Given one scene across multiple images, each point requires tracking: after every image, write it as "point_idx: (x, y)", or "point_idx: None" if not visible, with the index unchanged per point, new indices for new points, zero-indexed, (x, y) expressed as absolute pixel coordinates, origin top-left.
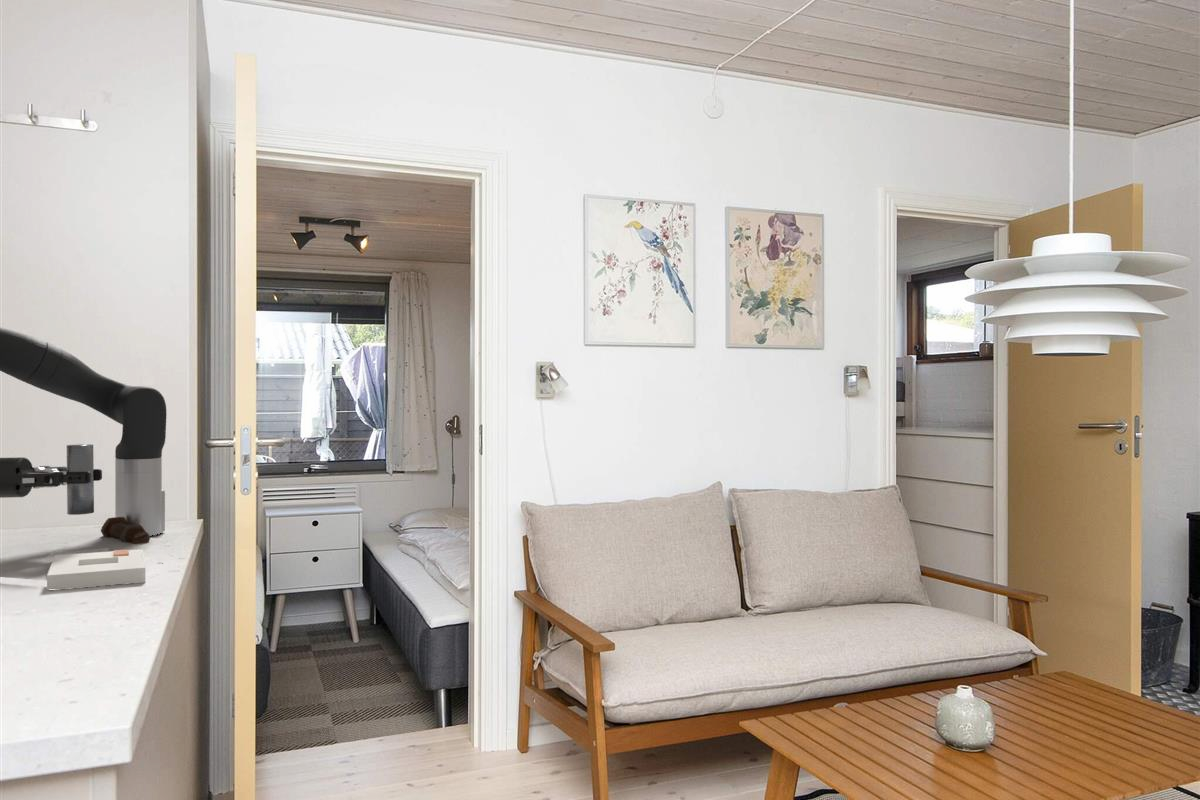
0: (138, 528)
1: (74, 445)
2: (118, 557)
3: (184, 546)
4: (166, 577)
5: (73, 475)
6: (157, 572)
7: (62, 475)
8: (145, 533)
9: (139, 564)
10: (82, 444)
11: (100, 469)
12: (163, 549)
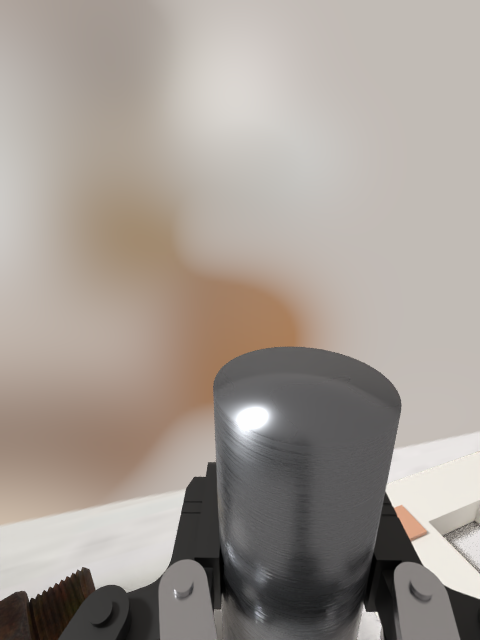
0: (26, 603)
1: (358, 393)
2: (432, 518)
3: (127, 505)
4: (433, 453)
5: (404, 533)
6: (404, 474)
7: (458, 594)
8: (89, 570)
9: (473, 461)
10: (239, 386)
11: (212, 462)
12: (152, 538)
